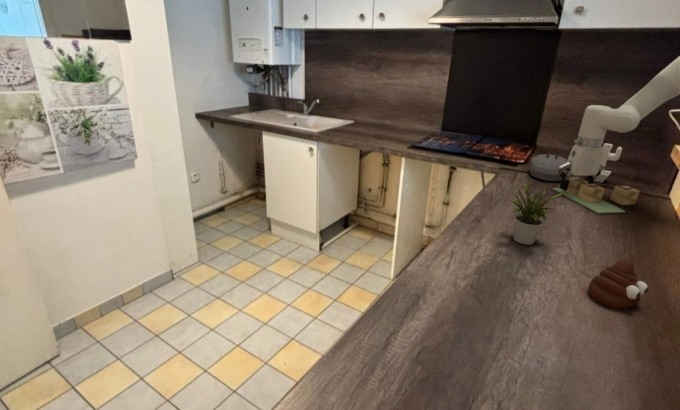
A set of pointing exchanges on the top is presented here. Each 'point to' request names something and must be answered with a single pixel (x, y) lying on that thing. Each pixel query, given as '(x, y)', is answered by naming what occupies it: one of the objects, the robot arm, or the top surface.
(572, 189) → the letter L
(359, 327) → the top surface
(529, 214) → the house plant
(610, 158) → the figurine
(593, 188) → the letter I
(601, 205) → the word mat
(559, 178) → the small grey backpack
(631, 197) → the letter T
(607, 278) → the poop emoji
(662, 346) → the top surface
